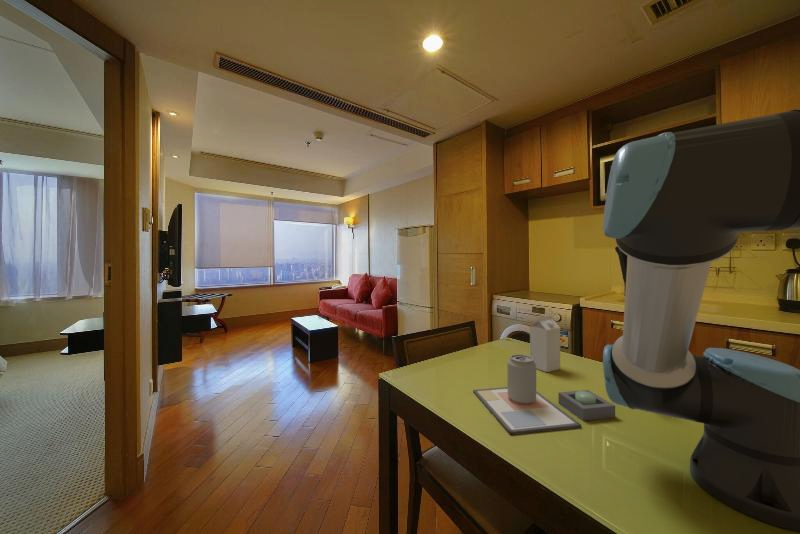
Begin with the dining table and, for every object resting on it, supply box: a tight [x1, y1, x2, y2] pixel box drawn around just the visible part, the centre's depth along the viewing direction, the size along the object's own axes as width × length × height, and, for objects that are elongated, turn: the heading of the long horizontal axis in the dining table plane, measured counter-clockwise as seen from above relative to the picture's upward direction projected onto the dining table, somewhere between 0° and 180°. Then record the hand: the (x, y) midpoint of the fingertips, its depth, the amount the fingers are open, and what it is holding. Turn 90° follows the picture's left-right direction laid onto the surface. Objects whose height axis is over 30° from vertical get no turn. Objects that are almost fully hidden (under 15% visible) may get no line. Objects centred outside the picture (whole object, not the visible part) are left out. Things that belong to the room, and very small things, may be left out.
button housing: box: [557, 389, 616, 422], centre depth 78 cm, size 9×9×3 cm
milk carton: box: [529, 314, 561, 373], centre depth 108 cm, size 7×7×19 cm
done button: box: [575, 390, 596, 405], centre depth 78 cm, size 5×5×3 cm
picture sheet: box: [472, 386, 582, 436], centre depth 80 cm, size 22×18×1 cm
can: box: [506, 353, 537, 404], centre depth 83 cm, size 8×8×12 cm
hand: (640, 312), depth 74 cm, fingers closed
